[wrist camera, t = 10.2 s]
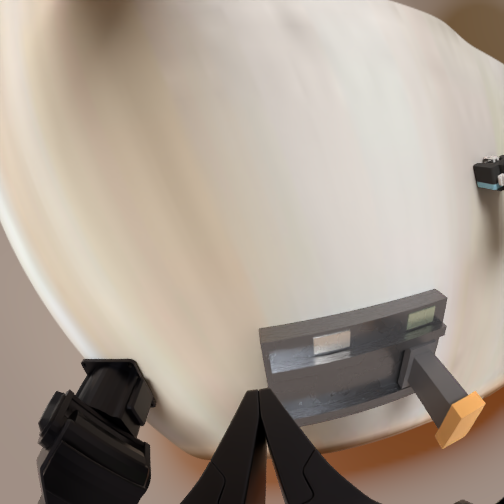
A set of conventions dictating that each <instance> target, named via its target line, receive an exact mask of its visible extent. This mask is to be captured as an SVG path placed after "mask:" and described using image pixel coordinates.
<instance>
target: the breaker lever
mask: <svg viewBox="0 0 504 504" xmlns="http://www.w3.org/2000/svg"><path fill="white" fill-rule="evenodd" d="M436 343H437V341H436V340H435V339H433V340H431V341H428V342H425V343H423V344H420V345H417V346H414V347H412V348H409V349H406V350H405V352H404V357H403V362H402V366H401V371H400V375H399V379H398V384H399V386H400V387H401V389H403V388H406V387H408V386H411V387H412V389H413V390H414V392H415V393H416V395H417V396H418V398H419V399H420V401H421V402H422V404H423V405H424V407H425V409H426V410H427V412H428V413H429V415H430V416H431V418H432V420H433V421H434V423H435V424H436V426H437V428H438V429H439V430H438V431H437V433H436V435H435V438H436V439H437V441H438V443H439V444H440V446H441V448H442V449H443V448H445V447H447V446H449V445H451V444H452V443H454V442H456V441H457V440H459V439H461V438H462V437H464V436H465V435H466V434H467V433H468V431H469V430H470V428H471V426H472V425H473V423H474V422H475V420H476V419H477V417H478V415H479V414H480V412H481V410H482V409H483V407H484V405H485V402H484V401H483V400H482V399H481V397H480V396H479V395H478V394H477V392H476V391H475V392H473V393H471V394H470V395H468V394H467V393H466V392H465V390H464V389H463V388H462V387H461V385H460V384H459V383H458V382H457V380H456V379H455V378H454V377H453V376H452V374H451V373H450V372H449V371H448V370H447V368H446V367H445V366H444V365H443V364H442V363H441V361H440V360H439V359H438V358H437V357H436V356H435V355H434V350H435V347H436Z"/></svg>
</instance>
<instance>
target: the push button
mask: <svg viewBox="0 0 504 504" xmlns="http://www.w3.org/2000/svg"><path fill="white" fill-rule="evenodd" d="M489 157H491V158H489ZM484 159H488V160H491V161H489V162H487V163H477V164H475V165H474V170H475V174H476V180H477V185H478V187H482V188H487V189H492V190H498V191H502V190H504V155H501V156H500V158H499V157H496V156H486V157H484Z"/></svg>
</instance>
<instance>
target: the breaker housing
mask: <svg viewBox="0 0 504 504" xmlns="http://www.w3.org/2000/svg"><path fill="white" fill-rule="evenodd" d="M446 302H447V297H446V296H444V295H443V294H442V293H440V292H439V291H438V290H436V289H433V290H430V291H427V292H423V293H420V294H416V295H413V296H409V297H406V298H402V299H398V300H394V301H391V302H387V303H383V304H379V305H375V306H371V307H367V308H363V309H358V310H354V311H350V312H345V313H341V314H336V315H331V316H327V317H322V318H317V319H312V320H307V321H301V322H296V323H290V324H285V325H279V326H273V327H267V328H260V329H259V335H260V343H261V349H262V354H263V360H264V366H265V371H266V377H267V382H268V388H271V389H272V391H273V392H274V394H275V395H276V396H277V398H278V399H279V400H280V402H281V403H282V405H283V406H284V407H285V409H286V410H287V411H288V413H289V414H290V415H291V417H292V418H293V419H294V421H295V422H296V423H297V425H298V426H299V427H301V426H306V425H311V424H316V423H320V422H324V421H329V420H333V419H337V418H341V417H344V416H348V415H352V414H355V413H359V412H362V411H365V410H369V409H372V408H375V407H378V406H381V405H384V404H387V403H389V402H392V401H395V400H398V399H400V398H403V397H406V396H408V395H411V394H413V393H415V392H414V390H413V389H412V387H411V386H408V387H406V388H403V389H401V387H400V386H399V384H398V379H399V375H400V371H401V366H402V362H403V357H404V352H405V350H406V349H409V348H412V347H414V346H417V345H420V344H423V343H425V342H428V341H431V340H433V339H435V340H436V341H437V343H436V347H435V350H434V355H435V351H436V348H437V344H438V340H439V337H441V336H443V335H445V330H446V325H445V324H444V323H443V318H444V313H445V308H446Z"/></svg>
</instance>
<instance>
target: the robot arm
mask: <svg viewBox="0 0 504 504" xmlns="http://www.w3.org/2000/svg"><path fill="white" fill-rule="evenodd" d="M81 364H82V366H83V368H84V370H85V372H86V373H87V376H86V378H85V380H84V381H83V383H82V385H81V386H80V388H79V390H78V392H77V393H76V395H74V393H73V392H72V391H71V390H69V391H67V393H66V394H64V393H61V392H58V391H56V392H55V394H54V395H53V397H52V399H51V400H50V402H49V404H48V405H47V407H46V409H45V411H44V413H43V415H42V417H41V419H40V421H39V423H38V424H39V428H40V434H39V435H40V438H39V441H38V444H39V445H41V446H42V447H43V448H42V450H41V452H40V454H39V456H38V458H37V468H38V475H39V481H40V487H41V492H42V495H41V497H40V500H39V502H38V504H138V502H139V500H140V498H141V497H142V496H143V494H145V492H146V491H147V489H148V486H149V484H150V479H151V467H150V445H149V444H148V443H146V442H142V441H141V440H139V439H137V435H138V432H139V428H140V426H143V425H144V424H145V422H146V418H147V415H148V412H149V408H150V407H155V405H156V401H155V399H154V398H153V394H152V393H151V391H150V389H149V387H148V385H147V383H146V381H145V379H144V378H143V377H142V375H141V373H140V371H139V369H138V367H137V365H136V363H135V361H134V360H132V359H83V361H82V363H81ZM130 364H131V365H130ZM266 440H267V442H266ZM267 444H268V448H269V452H270V455H271V459H272V462H273V466H274V469H275V472H276V476H277V479H278V482H279V486H280V489H281V492H282V495H283V498H284V502H285V504H381V503H378V502H376V501H374V500H372V499H370V498H369V497H368V496H366V495H365V494H363V493H362V492H361V491H360V490H358V489H357V488H356V487H355V486H353V485H352V484H351V483H350V482H349V481H347V480H346V479H345V478H344V477H343V476H341V475H340V474H339V473H338V472H337V471H336V470H335V469H334V468H333V467H332V466H331V465H330V464H329V463H328V462H327V461H326V460H325V459H324V457H323V456H322V455H321V454H320V453H319V451H318V450H317V449H316V448H315V447H314V445H313V444H312V443H311V441H310V440H309V439H308V438H307V436H306V435H305V434H304V432H303V431H302V430H301V429H300V427H299V426H298V425H297V423H296V422H295V421H294V419H293V418H292V417H291V415H290V414H289V413H288V411H287V410H286V409H285V407H284V406H283V405H282V403H281V402H280V400H279V399H278V398H277V396H276V395H275V394H274V392H273V391H272V389H271V388H264V389H260V390H259V391H258V390H249V391H247V392H246V393H245V395H244V397H243V400H242V402H241V404H240V405H239V407H238V409H237V411H236V413H235V415H234V417H233V419H232V421H231V423H230V425H229V427H228V429H227V431H226V433H225V435H224V436H223V438H222V440H221V442H220V444H219V446H218V448H217V450H216V451H215V453H214V455H213V457H212V459H211V462H209V464H208V466H207V467H206V469H205V471H204V472H203V474H202V476H201V477H200V479H199V481H198V482H197V483H196V485H195V486H194V487H193V488H192V490H191V491H190V492H189V494H188V495H187V496H186V497H185V498H184V500H183V501H182V502H181V503H180V504H265V496H266V458H267ZM454 504H472V503H470V502H468V501H465V500H460V501H458V502H456V503H454ZM496 504H504V497H503V498H502V499H501V500H499V501H498V502H497V503H496Z"/></svg>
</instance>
